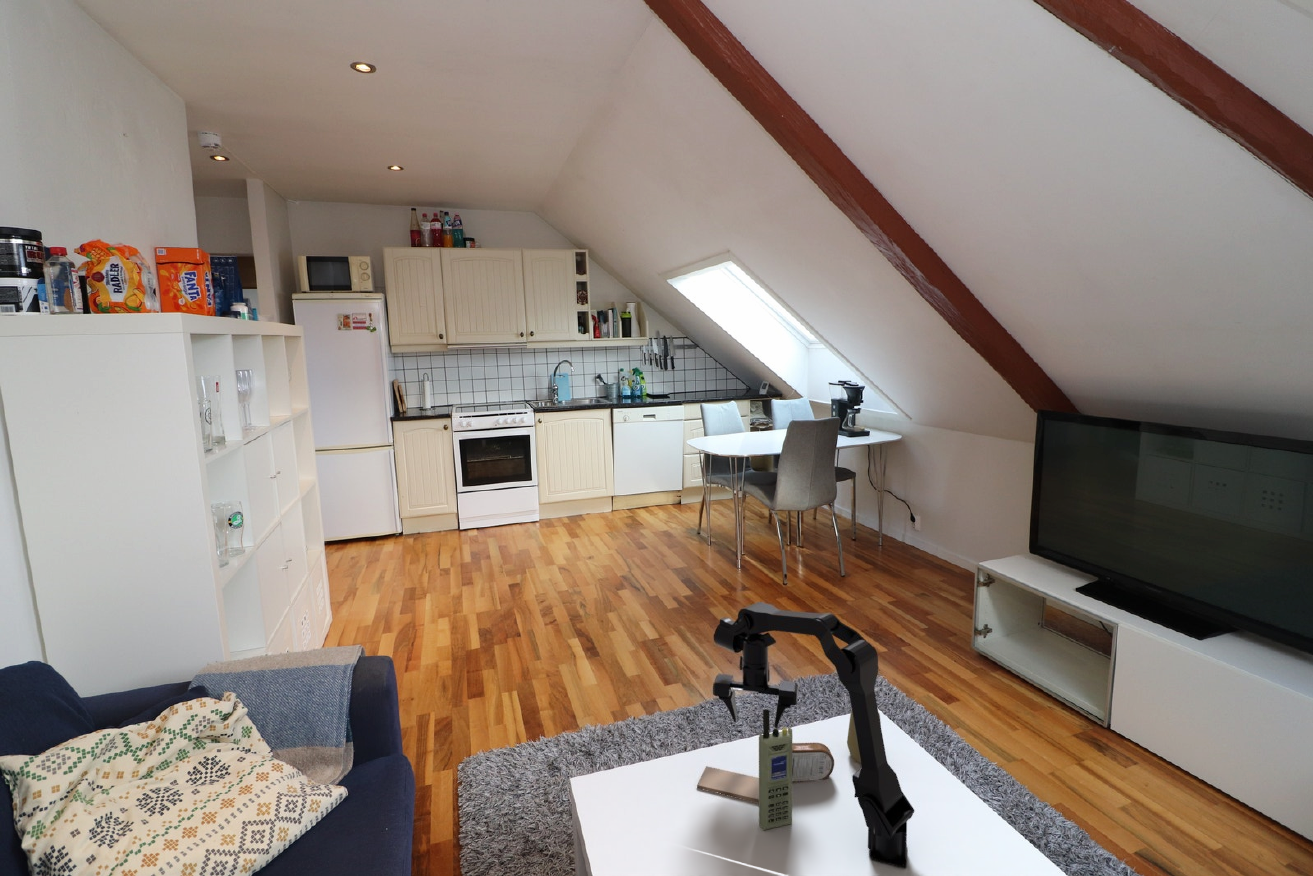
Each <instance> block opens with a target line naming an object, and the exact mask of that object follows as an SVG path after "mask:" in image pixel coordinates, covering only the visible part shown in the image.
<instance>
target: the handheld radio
mask: <svg viewBox="0 0 1313 876" xmlns="http://www.w3.org/2000/svg"><path fill="white" fill-rule="evenodd" d="M762 729H763V732H761V731H759V733H758V734H759V736H758V778H759V803H758V823H759V827H760V829H761V830H762V831H767V830H769V829H774V828H779V827H784V826H788V825H792V823H793V783H792V743H793V729H792V728H791V727H790V726H788V729H787V728H786V727H782V729H781V731H779V730H778V728H773V729H772V732H771V733H770V710H769V709H767V708H765V709H763V710H762Z"/></svg>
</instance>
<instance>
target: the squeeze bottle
mask: <svg viewBox="0 0 1313 876" xmlns="http://www.w3.org/2000/svg"><path fill="white" fill-rule="evenodd" d="M879 719H880V720H881V714H880V713H879ZM848 723H849V724H848V732H847V740H846V743H847V748H848V751H849V754H850V757H851V758H852V759H853V761H855V762H857V763H858V764H861V760H860V754H859V749H858V743H857V737H856V732H855V726H854V720H853V714H852V709H851V710H850V716H849V722H848ZM881 723H882V721H880V725H881ZM881 726H882V725H881Z"/></svg>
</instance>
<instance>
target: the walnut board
mask: <svg viewBox="0 0 1313 876" xmlns="http://www.w3.org/2000/svg"><path fill="white" fill-rule="evenodd" d="M698 788H699V789H700V790H702V789H704V790H703V791H706V790H708V791H707V792H711V793H715V792H718V793H717V794H719V793H721V794H720V795H724V796H727V795H728V796H727V797H731V796H732V798H735V797H736V799H739V798H741V799H740V800H743V799H744V801H748V802H751V801H752V803H754V804H755V803H756V804H759V777H757V776H753V775H748V774H744V773H740V772H739V773H738V772H734V771H729V770H726V769H720V768H716V767H712V766H708V765H707V766H705V768H704V770H703V772H702V774H701V776H700V778H699V780H698V782H697V784H696V789H698Z"/></svg>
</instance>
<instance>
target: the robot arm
mask: <svg viewBox="0 0 1313 876" xmlns="http://www.w3.org/2000/svg"><path fill="white" fill-rule="evenodd" d="M773 631H774V632H780V633H781V632H782V633H790V634H799V635H808V636H814V637H815V638H816V639H817V640H818V641H819V643H820V645H821V648H822V651H823V654H824V655H825V657H826V659H828V660H829V661H830V662H831V664H832V665H833V666H834V667H835V670H836V674H837V677H838V680H839V681H840V683H841V684H842V685H843V687H844V688H845V689H846V690H847V692H848V697H849V701H850V708H851V710H852V714H853V720H854V726H855V732H856V737H857V743H858V749H859V754H860V760H861V763H860V769H859V770H858V771H856V772H855V773H854V774H853V775H851V778H852V784H853V786H854V798H857V801H858V805H859V807H860V808H861V810H862V814H863V818H864V821H865V825H866V827H867V850H870V851H869V858H870V860H872V861H876V862H880V863H884V864H886V865H887V864H888V865H891V866H895V867H899V868H904V869H906V868H907V867H908V863H907V862H908V853H907V852H908V850H907V849H908V846H907V845H908V844H907V843H908V842H907V838H908V837H907V836H908V833H907V832H908V823H907V822H908V821H909V820H911V819H912V817H913V816H914V813H915V808H914V807H913V805H912V804H911V803H910V801H909V800H908V798H907V796H906V795H905V794H904V792H903V790H902V787H901V784H900V781H899V778H898V775H897V773H896V772H895V771H894V769H893V768H892V767H891V766H890V765H889V763H888V759H887V754H886V748H885V743H884V736H883V731H882V725H880V722H881V718H880V719H879V714H880V712H879V708H878V702H877V697H876V692H875V691H876V690H875V687H876V682H877V678H878V675H879V654H878V651H877V649H876V648H875V646H873V645H872V644H871V643H870V642H868V641H867V640H866V639H865V638H864V636H863V635H861V634H860V633H859V632H858V631H857V630H855V629H854V628H851V627H850V626H848V624H845V623H843V622H842V621H841V620H840V619H839V618H838V617H837V616H836V615H835V614H834V613H830V612H825V613H819V612H806V611H796V610H795V611H793V610H783V609H778V608H776V606H774V605H773V604H769V603H767V602H765V601H764V602H763V601H758V602H756V603H755V602H754V603H753V604H750V605H747V606H745V607H743V608H741V609H739V611H738V613H737V618H736V620H732V619H730V618H729V617H726V616H724V617H722V618H720V619H719V624H718V625H717V626H716V628H715V631H714V633H713V642H714V644H715V645H716V646H719V647H721V648H724V649H726V650H728V651H730V652H733V653H735V654H738V653H741V652H742V654H741V655H740V657H739V670H740V671H742V681H737V680H734V675H733V674H724V673H718V674H717V675H716V676H715V678H714V682H713V684H712V685H713V686H712V695H713V696H714V697H718V700H720V701H723V703H724V705H725V706H726V708H727V710H728V712H729V714H730V715H731V717H732V721H733V722H734V723H737V722H738V712H737V704H736V692H737V691H738V692H744V693H746V692H747V693H753V694H762V695H769V696H778V699H777V704H776V705H777V706H776V712H775V718H774V719H775V721H774V729H778V726H779V723H780V721H781V718H782V715H783V714H784V712H785V711H786V709H790V708H791V707H792V706H796V705H797V704H798V696H799V685H798V683H797V681H789V680H780V682H779V685H770V684H769V682H770V680H771V679H770V678H771V673H770V662H769V647H771V646H773V645H775V644H776V643H777V640H776V639H775V638H774V637H773V636H772V635H771V633H770V632H773ZM834 637H835V638H837V639H838V640H840V641H842V642H844V643H846V644H847V645H845V646H843V647H842V648H840V647H839V646H838V644H837V643H836V641H835V638H834Z"/></svg>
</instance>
